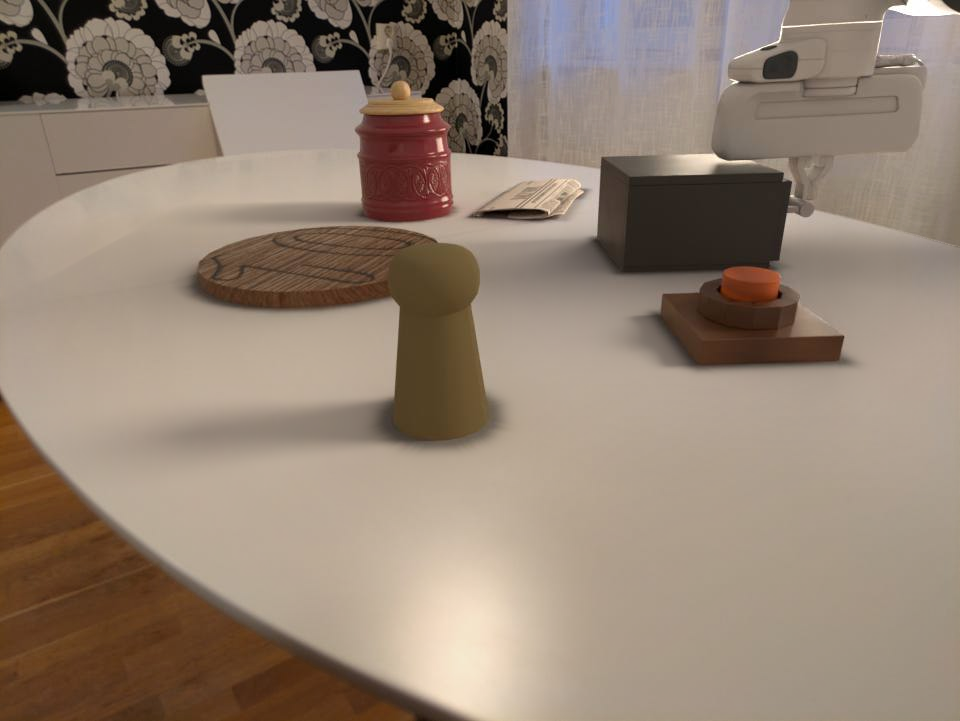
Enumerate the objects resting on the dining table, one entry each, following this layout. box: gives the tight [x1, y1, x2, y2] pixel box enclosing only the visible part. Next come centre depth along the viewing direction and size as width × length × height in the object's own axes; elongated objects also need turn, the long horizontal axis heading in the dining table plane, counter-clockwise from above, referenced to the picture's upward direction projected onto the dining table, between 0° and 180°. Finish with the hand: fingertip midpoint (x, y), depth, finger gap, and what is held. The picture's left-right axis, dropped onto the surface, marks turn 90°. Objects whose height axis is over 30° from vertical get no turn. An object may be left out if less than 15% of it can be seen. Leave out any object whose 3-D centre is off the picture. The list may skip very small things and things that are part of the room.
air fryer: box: [596, 153, 785, 274], centre depth 72 cm, size 15×14×10 cm
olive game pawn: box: [387, 242, 490, 442], centre depth 39 cm, size 6×6×11 cm
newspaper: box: [473, 178, 585, 220], centre depth 100 cm, size 23×12×2 cm, turn 161°
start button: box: [720, 266, 782, 302], centre depth 50 cm, size 4×4×2 cm
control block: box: [659, 277, 845, 366], centre depth 51 cm, size 10×10×4 cm
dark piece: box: [770, 177, 815, 262], centre depth 72 cm, size 18×13×8 cm
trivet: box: [196, 225, 439, 309], centre depth 71 cm, size 25×25×2 cm
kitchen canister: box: [354, 80, 454, 223], centre depth 92 cm, size 13×13×18 cm
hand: (804, 199), depth 72 cm, fingers closed, pressing on dark piece
